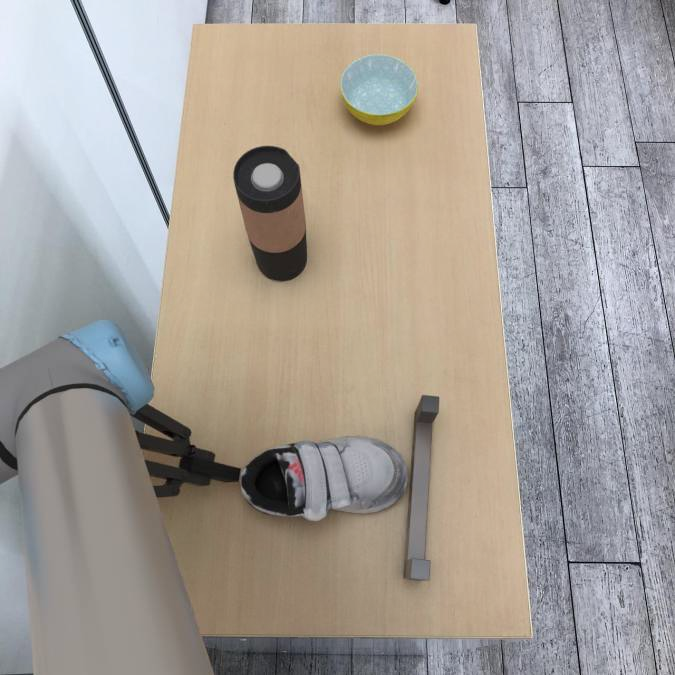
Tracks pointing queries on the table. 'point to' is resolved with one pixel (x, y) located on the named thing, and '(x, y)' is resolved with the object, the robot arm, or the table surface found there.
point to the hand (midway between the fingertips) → (233, 475)
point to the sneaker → (325, 478)
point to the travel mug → (273, 210)
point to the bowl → (378, 88)
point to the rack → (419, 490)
